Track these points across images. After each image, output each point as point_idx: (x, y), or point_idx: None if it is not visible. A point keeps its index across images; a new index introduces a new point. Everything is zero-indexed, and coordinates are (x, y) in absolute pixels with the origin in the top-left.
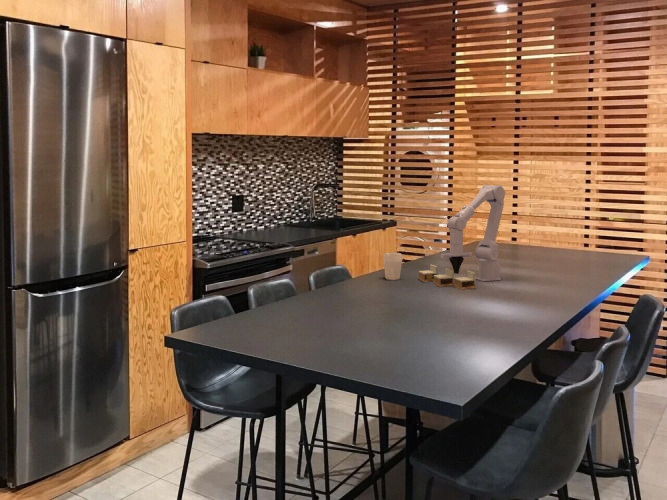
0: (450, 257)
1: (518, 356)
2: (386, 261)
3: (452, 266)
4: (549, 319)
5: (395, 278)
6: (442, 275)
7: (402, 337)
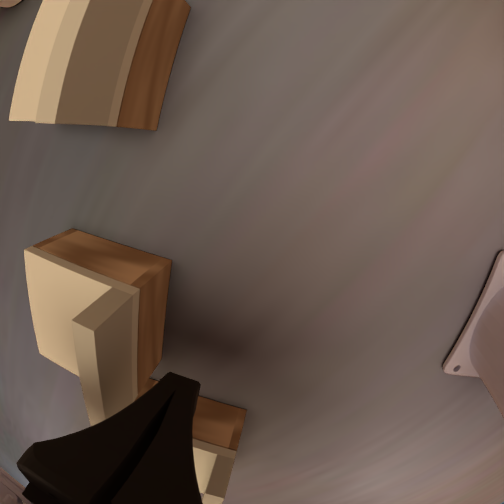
0: (28, 495)
1: None
2: None
3: (123, 410)
4: None
5: (10, 4)
6: (73, 308)
7: (2, 457)
